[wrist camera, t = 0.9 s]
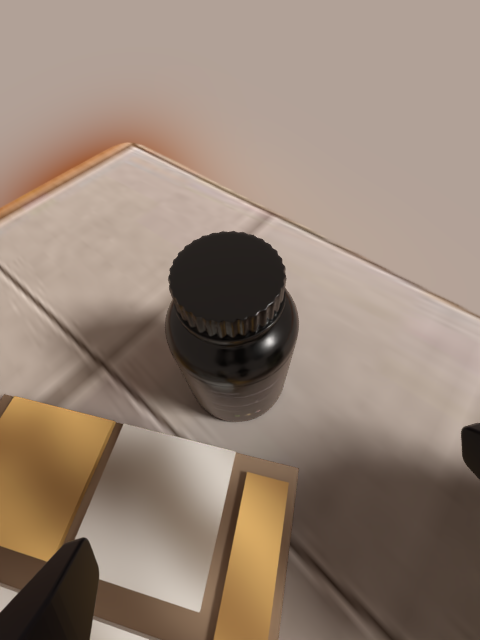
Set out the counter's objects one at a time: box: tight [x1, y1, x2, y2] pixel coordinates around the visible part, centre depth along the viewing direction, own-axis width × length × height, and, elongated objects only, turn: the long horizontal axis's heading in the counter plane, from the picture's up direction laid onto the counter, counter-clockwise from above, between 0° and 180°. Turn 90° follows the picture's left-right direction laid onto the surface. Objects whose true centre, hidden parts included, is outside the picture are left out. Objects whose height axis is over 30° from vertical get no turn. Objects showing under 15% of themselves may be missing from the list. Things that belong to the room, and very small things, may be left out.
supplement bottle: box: [165, 231, 299, 422], centre depth 17 cm, size 7×7×12 cm
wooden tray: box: [0, 394, 299, 640], centre depth 15 cm, size 17×20×2 cm
